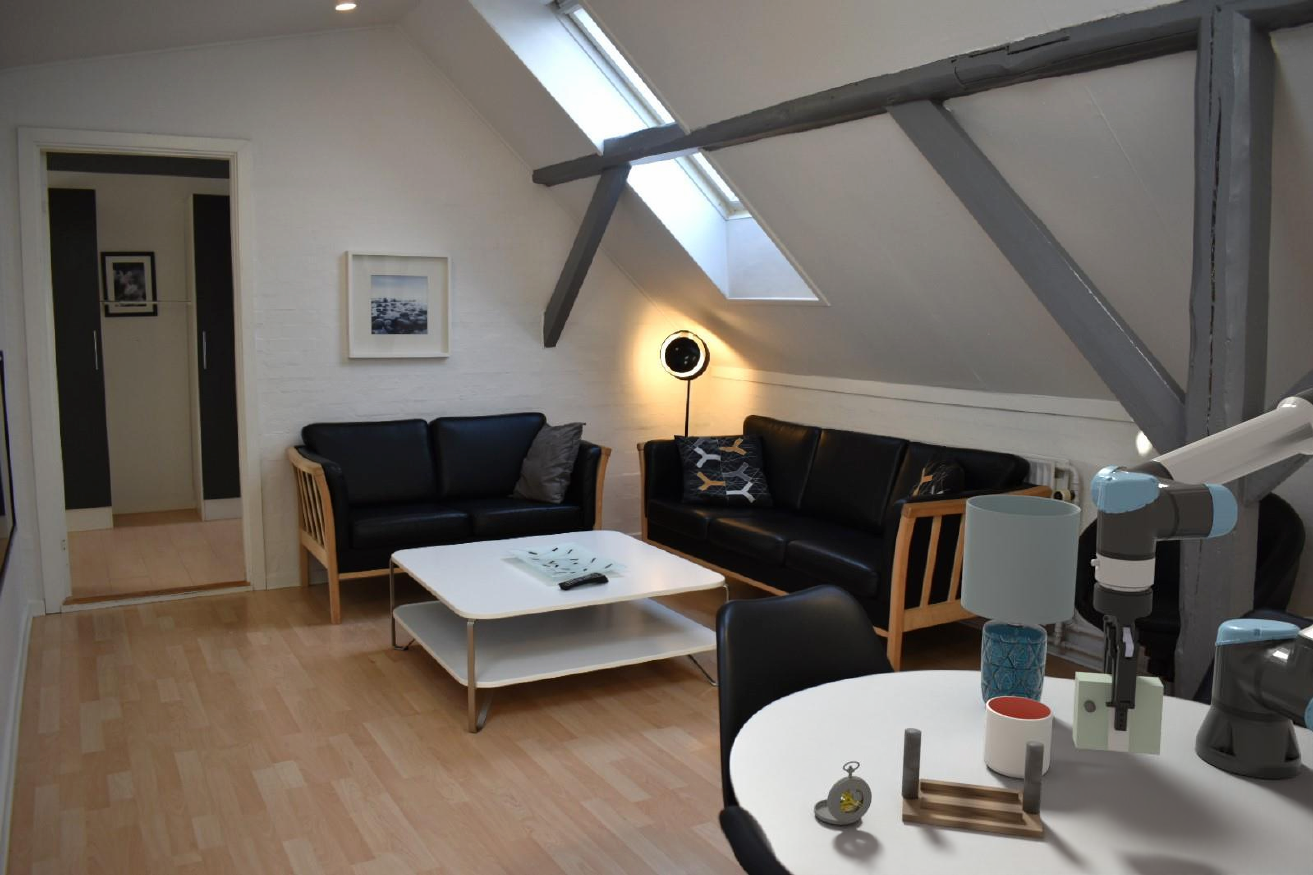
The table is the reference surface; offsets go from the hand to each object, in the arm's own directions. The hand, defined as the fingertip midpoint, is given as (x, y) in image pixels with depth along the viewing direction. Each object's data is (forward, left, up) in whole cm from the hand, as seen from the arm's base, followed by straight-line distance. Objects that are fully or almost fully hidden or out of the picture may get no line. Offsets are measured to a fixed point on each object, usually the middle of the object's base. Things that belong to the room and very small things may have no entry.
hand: (1114, 743), depth 152 cm
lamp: (+10, -40, -12) cm, 43 cm away
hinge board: (+20, +2, -11) cm, 23 cm away
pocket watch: (+38, +10, -12) cm, 41 cm away
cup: (+12, -14, -12) cm, 22 cm away
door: (0, 0, 0) cm, 1 cm away
